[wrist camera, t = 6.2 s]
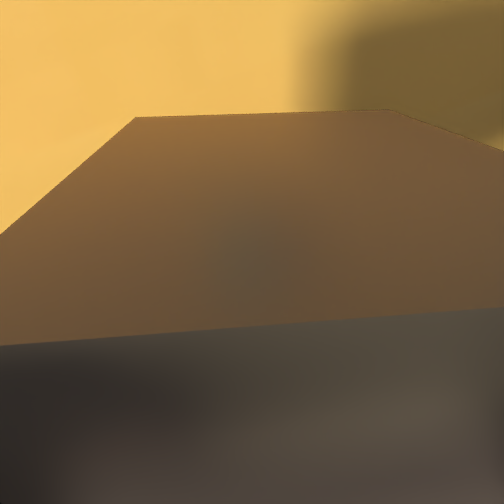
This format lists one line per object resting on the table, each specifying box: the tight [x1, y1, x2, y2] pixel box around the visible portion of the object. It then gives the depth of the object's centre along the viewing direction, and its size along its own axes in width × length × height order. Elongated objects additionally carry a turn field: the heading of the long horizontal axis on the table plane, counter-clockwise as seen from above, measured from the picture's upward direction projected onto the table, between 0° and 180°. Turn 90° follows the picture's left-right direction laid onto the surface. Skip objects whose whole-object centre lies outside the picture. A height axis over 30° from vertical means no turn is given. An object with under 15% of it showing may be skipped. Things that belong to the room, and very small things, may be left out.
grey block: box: [0, 110, 504, 504], centre depth 8 cm, size 8×8×9 cm
